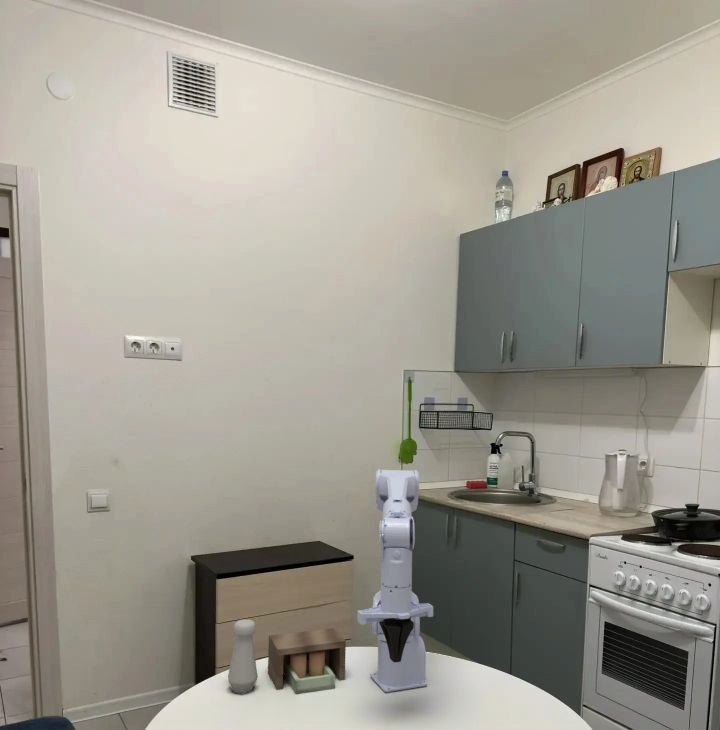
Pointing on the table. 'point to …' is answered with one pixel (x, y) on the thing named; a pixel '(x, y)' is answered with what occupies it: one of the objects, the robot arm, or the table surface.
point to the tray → (310, 680)
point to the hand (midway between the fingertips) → (395, 660)
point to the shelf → (306, 643)
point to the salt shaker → (243, 658)
